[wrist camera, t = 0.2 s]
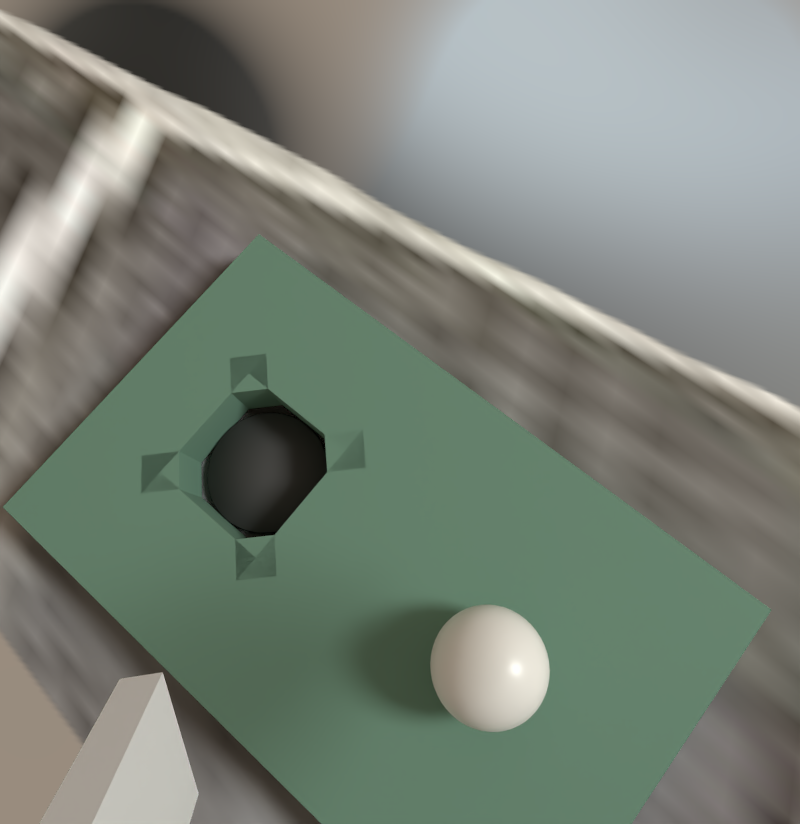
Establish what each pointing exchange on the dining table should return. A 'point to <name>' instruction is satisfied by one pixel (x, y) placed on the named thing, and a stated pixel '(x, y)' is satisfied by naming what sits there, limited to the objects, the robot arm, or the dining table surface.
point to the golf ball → (489, 668)
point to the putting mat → (378, 565)
